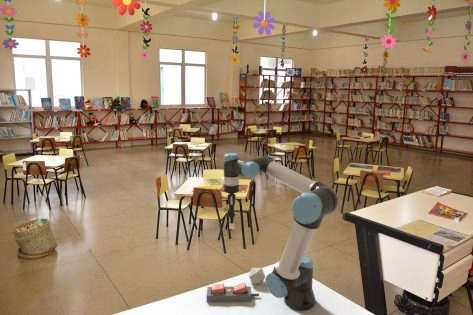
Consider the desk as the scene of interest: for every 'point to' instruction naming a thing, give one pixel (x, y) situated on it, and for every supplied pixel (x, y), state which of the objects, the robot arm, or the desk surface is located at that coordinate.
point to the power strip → (230, 295)
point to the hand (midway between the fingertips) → (231, 228)
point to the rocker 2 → (240, 288)
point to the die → (256, 276)
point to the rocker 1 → (218, 288)
